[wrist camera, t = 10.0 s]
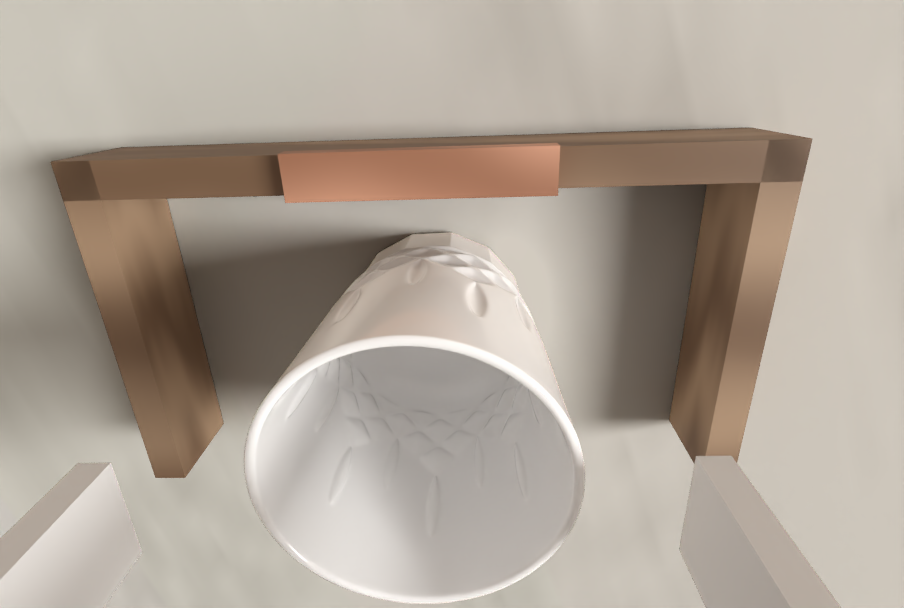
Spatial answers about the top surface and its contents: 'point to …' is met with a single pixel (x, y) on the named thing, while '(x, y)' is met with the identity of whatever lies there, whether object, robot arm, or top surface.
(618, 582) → the top surface
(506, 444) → the white cup
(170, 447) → the brown wooden open frame
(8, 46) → the top surface
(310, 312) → the top surface
